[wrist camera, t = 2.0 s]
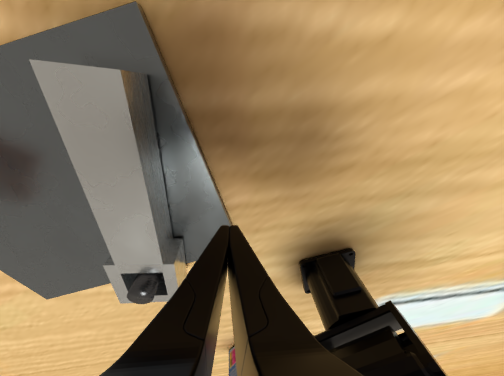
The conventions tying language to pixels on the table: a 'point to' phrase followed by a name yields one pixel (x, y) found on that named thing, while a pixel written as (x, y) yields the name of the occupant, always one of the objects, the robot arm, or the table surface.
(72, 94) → the link
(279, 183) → the table surface
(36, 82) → the pintle plate
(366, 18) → the table surface
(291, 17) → the table surface
